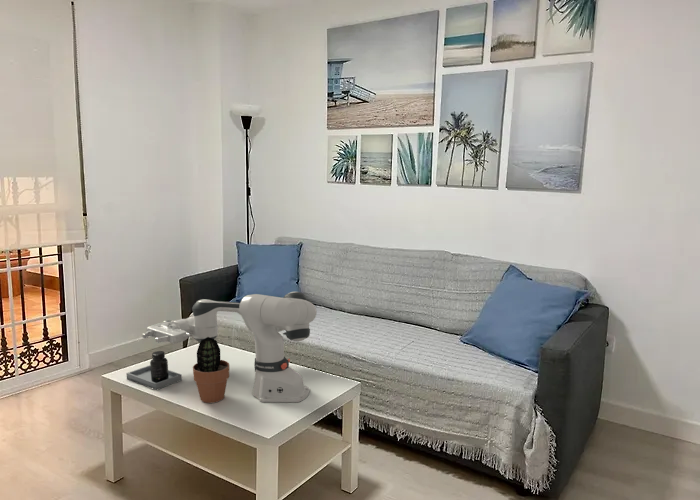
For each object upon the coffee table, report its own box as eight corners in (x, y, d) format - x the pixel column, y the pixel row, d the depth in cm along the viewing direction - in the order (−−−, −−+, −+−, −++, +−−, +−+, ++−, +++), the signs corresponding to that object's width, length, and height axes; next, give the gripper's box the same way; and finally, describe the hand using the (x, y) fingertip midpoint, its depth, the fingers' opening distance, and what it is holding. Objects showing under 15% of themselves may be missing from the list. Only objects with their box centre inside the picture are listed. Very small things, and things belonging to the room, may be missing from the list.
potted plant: (237, 395, 210) (236, 333, 206) (213, 408, 198) (211, 343, 194) (211, 388, 216) (208, 328, 212) (186, 401, 204) (183, 337, 201)
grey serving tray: (181, 380, 224) (181, 374, 224) (156, 390, 214) (156, 384, 214) (152, 369, 236) (152, 364, 235) (126, 378, 226) (126, 373, 225)
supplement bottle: (153, 377, 225) (151, 350, 223) (169, 376, 226) (168, 349, 224) (149, 384, 218) (148, 356, 216) (167, 383, 219) (165, 355, 217)
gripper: (193, 342, 227) (165, 350, 216) (164, 333, 239) (136, 341, 228) (193, 327, 226) (164, 335, 215) (163, 319, 238) (135, 326, 227)
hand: (149, 338), depth 222 cm, fingers open, 8 cm apart
